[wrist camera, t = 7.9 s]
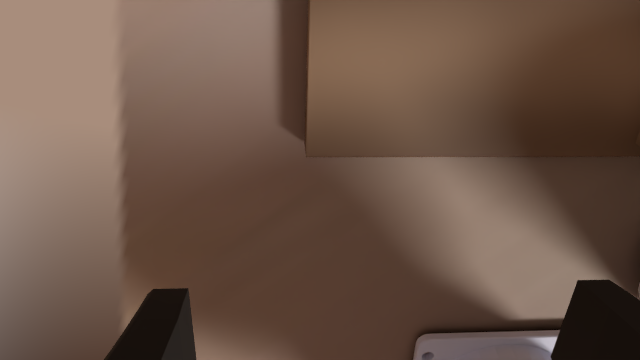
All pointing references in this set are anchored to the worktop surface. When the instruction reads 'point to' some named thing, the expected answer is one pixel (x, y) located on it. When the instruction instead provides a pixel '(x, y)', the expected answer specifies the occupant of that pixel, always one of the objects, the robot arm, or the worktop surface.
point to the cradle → (473, 78)
